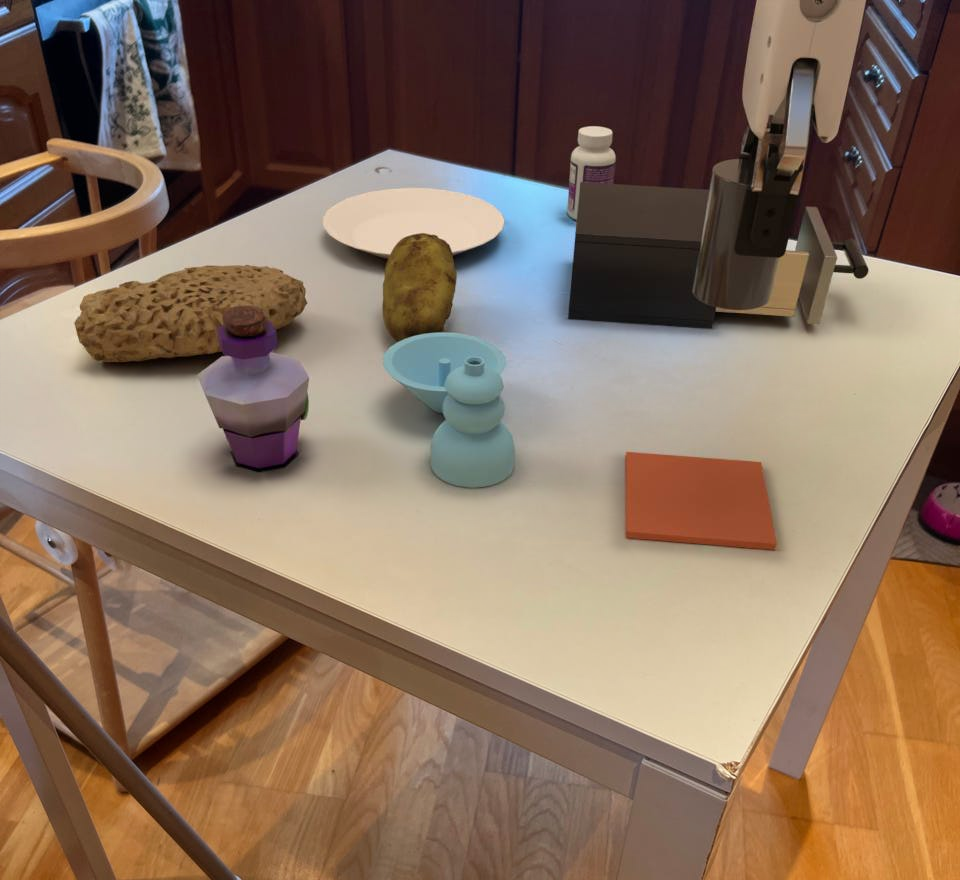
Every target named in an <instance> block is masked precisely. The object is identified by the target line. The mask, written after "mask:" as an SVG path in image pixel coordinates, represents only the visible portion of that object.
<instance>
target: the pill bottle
mask: <svg viewBox="0 0 960 880" xmlns="http://www.w3.org/2000/svg"><path fill="white" fill-rule="evenodd" d="M612 143H613V130H612V129H610V128H609V127H604V126H595V125H591V126H589V125H588V126H584V127H581V128H579V129H578V135H577V144H578V146H576V147H575V148H574V149H573V151H572V152H571V155H570V166H569V167H570V168H569V180H568V181H569V182H568V193H567V194H568V195H567V208H566V209H567V210H566V211H567V215H568V216H569V217H570V218H572V219H573V220H575V221H577V212H578V201H579V191H580V182H586V183H603V184H614V180H615V171H616V162H617V161H616V160H617V156H616V153H615V151H614V150H613V149H612V148H611V145H612Z"/></svg>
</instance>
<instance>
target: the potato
mask: <svg viewBox="0 0 960 880" xmlns="http://www.w3.org/2000/svg"><path fill="white" fill-rule="evenodd" d="M457 276H458V275H457V270H456V267H455V263H454V256H453V254H452V251H451V248H450V245H449V244H448V243H447V242H446V241H445V240H443V239H440V238H438V236H436V235H430V234H426V233H420V234H413V235H410V236H407V237H404V238H403V239H401V240H400V241H399V242H398V243H397V244H396V245H395V247H394V248H393V250H392V252H391V254H390V256H389V258H388V259H387V261H386V264H385V270H384V279H383V283H382V318H383V322H384V326H385V329H386V331H387V332H388V334H389V336H390V337H391V339H393V341H395V343H397V342H399V341H401V340H404V339H406V338H409V337H412V336H416V335H421V334H427V333H441V332H445V326H446V323H447V320H449V318H450V316H451V314H452V313H451V312H452V308H453V306H454V303H453V301H454V298H455V293H456V286H457Z"/></svg>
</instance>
